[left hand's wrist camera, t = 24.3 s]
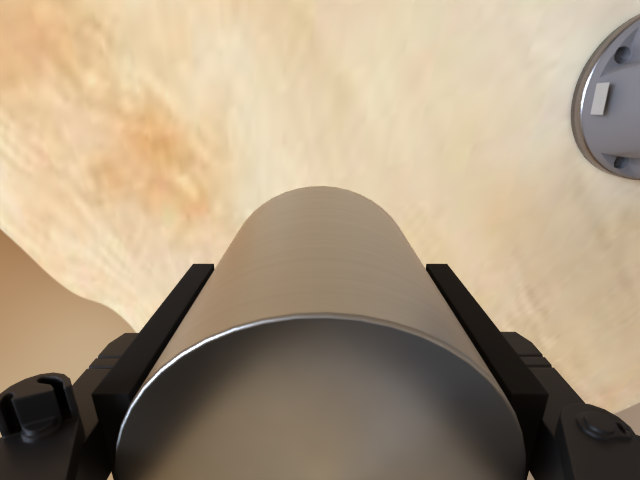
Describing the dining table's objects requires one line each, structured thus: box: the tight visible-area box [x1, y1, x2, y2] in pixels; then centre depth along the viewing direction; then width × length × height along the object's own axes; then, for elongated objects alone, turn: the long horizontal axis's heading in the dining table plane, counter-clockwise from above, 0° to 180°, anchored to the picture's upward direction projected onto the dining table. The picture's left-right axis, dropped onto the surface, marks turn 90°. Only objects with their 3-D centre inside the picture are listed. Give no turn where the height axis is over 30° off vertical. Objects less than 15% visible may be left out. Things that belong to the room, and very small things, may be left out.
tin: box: [115, 186, 526, 480], centre depth 12 cm, size 8×8×10 cm
